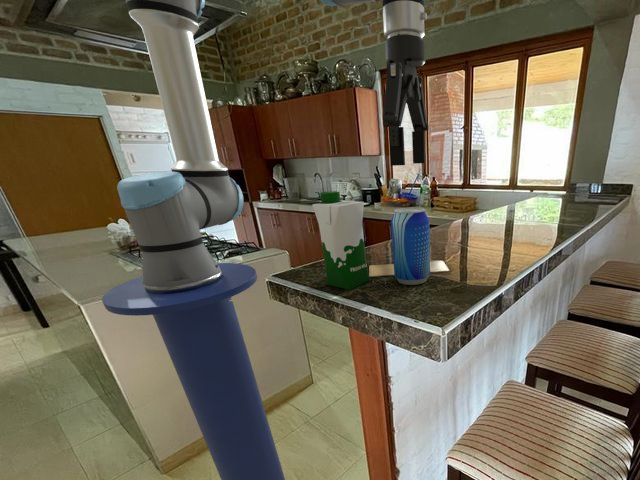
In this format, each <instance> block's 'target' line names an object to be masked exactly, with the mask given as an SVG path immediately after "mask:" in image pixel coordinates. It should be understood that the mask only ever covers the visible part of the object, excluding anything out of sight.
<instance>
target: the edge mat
mask: <svg viewBox="0 0 640 480" xmlns="http://www.w3.org/2000/svg"><path fill="white" fill-rule="evenodd" d="M448 272H450V269H449V267H448V266H447V264H445V262H444V261H443V260H430V274H435V273H448ZM368 274H369V278H381V277H395V276H394V263H388V264H370V265H369V267H368Z"/></svg>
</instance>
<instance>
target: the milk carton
mask: <svg viewBox="0 0 640 480" xmlns="http://www.w3.org/2000/svg"><path fill="white" fill-rule="evenodd" d="M319 195H320V201H321V202H316V203H314V204H311V206H312V209H313V211H314V214H315V217H316V220H317V223H318V228H319V234H320V240H321V246H322V252H323V260H324V267H325V277H326V278H325V279H326V285H327V286H331V287H336V288H339V289H345V290H353V289H355V288H356V287H358V286H362V285H363V284H365V283H367V282H369V281H370V277H369V268H368V265H367V257H366V247H365V238H364V227H363V219H364V218H363V217H364V205H365V202H364V201H356V200H345V199H344V200H341V194H340V191H337V190H336V191H335V190H334V191H332V190H331V191H321V192H320V193H319Z"/></svg>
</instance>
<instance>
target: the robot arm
mask: <svg viewBox="0 0 640 480" xmlns="http://www.w3.org/2000/svg"><path fill="white" fill-rule="evenodd" d="M319 1H320V2H321V4H323V5H324V6H327V7H340V8H341V7H345V6H348V5H357V4H364V3H365V4H366V3H372V2H382V23H383V36H384V38H385V39H386V40H385V41H384V51H385V52H384V55H385V64H386V82H385V83H386V84H385V93H384V99H383V100H384V101H383V108H382V109H383V110H382V125H383V128H388V140H389V143H388V144H389V156H390V159H389V160H390V166H393V167H394V166H406V155H405V154H406V153H405V132H404V126H402V123H403V118H404V115H405V114H404V113H405V110H406V106H407V109H408V113H409V117H410V120H411V125H412V129H413V131H412V130H411V143H412V164H426V137H425V136H426V134H425V133H426V132H427V131H429V128H430V127H429V124H428V119H427V111H426V102H425V95H424V84H423V81H424V80H423V76H419V75H418V73H417V68H419V67H422V66H424V64H425V63H426V41H425V39H424V38H423V37H424V36H425V20H427V19H428V14H427V12H425V0H319ZM125 2H126V3H125V4H126V7H127V12H128V15H129V17H130V18H131V19H132V20H134V22H135V23H136V24H138V26H140V28H141V29H142V33H143V35H144V36H143V37H144V39H145V44H146V48H147V52H148V55H149V60H150V63H151V66H152V72H153V75H154V79H155V82H156V86H157V90H158V95H159V99H160V101H161V105H162V109H163V114H164V117H165V121H166V125H167V129H168V132H169V137H170V140H171V143H172V147H173V152H174V155H175V162H174V163H173V164H172V166H171V167H170V171H160V172H158V171H157V172H151V173H143V174H137V175H132V176H129V177H126V178H122V179H121V180H120V181H119V182H118V183H117V187H116V189H117V192H118V196H119V198H120V205H121V206H122V208H123V210H124V211H125V215H126V218H127V219H128V221H129V225H130V227H131V229H132V232H133V235H134V237H135V240H136V242H137V245H138V247H139V249H140V252H141V257H142V260H141V261H142V265H141V266H142V269H141V270H142V271H141V272H142V276H143V278H142V281H143V285H144V287H145V290H146V291H147V292H149V293H154V294H169V293H178V292H184V291H190V290H194V289H198V288H202V287H205V286H208V285H210V284H213V283H215V282H217V281H218V280H220V279H221V278H222V276H223V275H222V272H221V269H220V267H219V266H218V264H217V263H218V262H217V261H216V260H215V259H214V257H213V256H212V254H211V252H209V251H210V250H208V249H207V247H206V246H205V243H204V239H203V236H202V233H201V230H204V229H208V228H212V227H215V226H223V225H225V224H228V223H229V222H231V221H234V220H236V219H237V218H238V217H239V216H240V215H241V213H242V212H243V208H244V194H243V191H242V189H241V187H240V185H239V184H237V182H236V181H235V180H234V179H233V178H232V177H230V173H229V168H228V167H227V166H226V165H224V164H223V163H222V162H221V161H220V159H219V155H218V149H217V145H216V141H215V137H214V130H213V126H212V121H211V116H210V112H209V107H208V102H207V97H206V93H205V88H204V82H203V78H202V74H201V69H200V64H199V59H198V54H197V49H196V45H195V40H194V36H195V34H196V33H197V31H198V30H199V29H200V24H199V20H198V19H199V18H200V17H201V16H202V14H203V11H202V9H204V8H205V5H206V0H125Z"/></svg>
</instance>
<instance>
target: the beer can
mask: <svg viewBox="0 0 640 480" xmlns="http://www.w3.org/2000/svg"><path fill="white" fill-rule="evenodd" d="M393 212H394V214H393V216H392V218H391V219H390V229H391V230H390V231H391V245H392V261H393V264H394V276H393V277H394V278H395V279H396V280H397V282H398V283H399V284H402V285H409V286H414V285H415V286H416V285H421V284H423V283H426V282H427V281H428V278H429V277H430V276H431V273H430V261H431V248H430V247H431V244H430V243H431V242H430V240H431V239H430V237H431V236H430V219H429V217H428V215H427V214H426V209H425V208H423V207H402V208H401V207H400V208H396V209H394V211H393Z"/></svg>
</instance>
